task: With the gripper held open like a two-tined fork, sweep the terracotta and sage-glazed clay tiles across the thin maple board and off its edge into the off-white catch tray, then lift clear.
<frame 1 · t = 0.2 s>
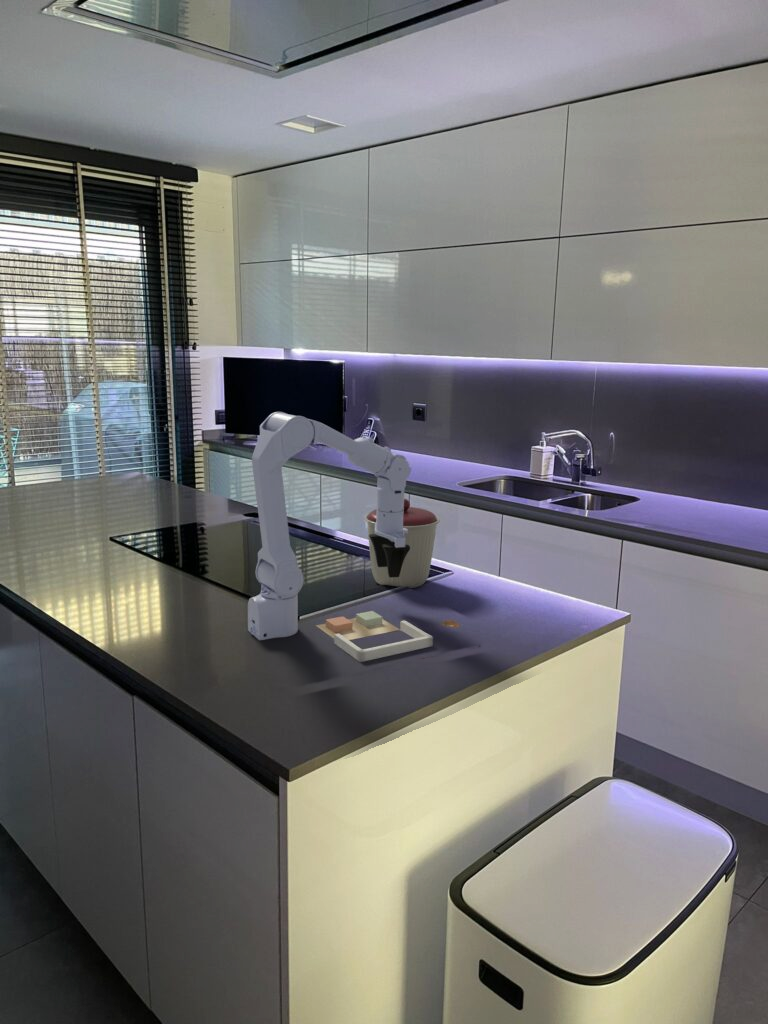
hand: (388, 571, 166), 10 cm above the counter, fingers open, 7 cm apart
shard: (443, 627, 163), on the counter
terracotta tile: (338, 628, 156), point 1 cm above the counter, touching maple board
maple board: (357, 633, 157), on the counter
sage tile: (368, 622, 160), point 1 cm above the counter, touching maple board
catch tray: (381, 649, 149), on the counter
canister: (400, 583, 190), on the counter
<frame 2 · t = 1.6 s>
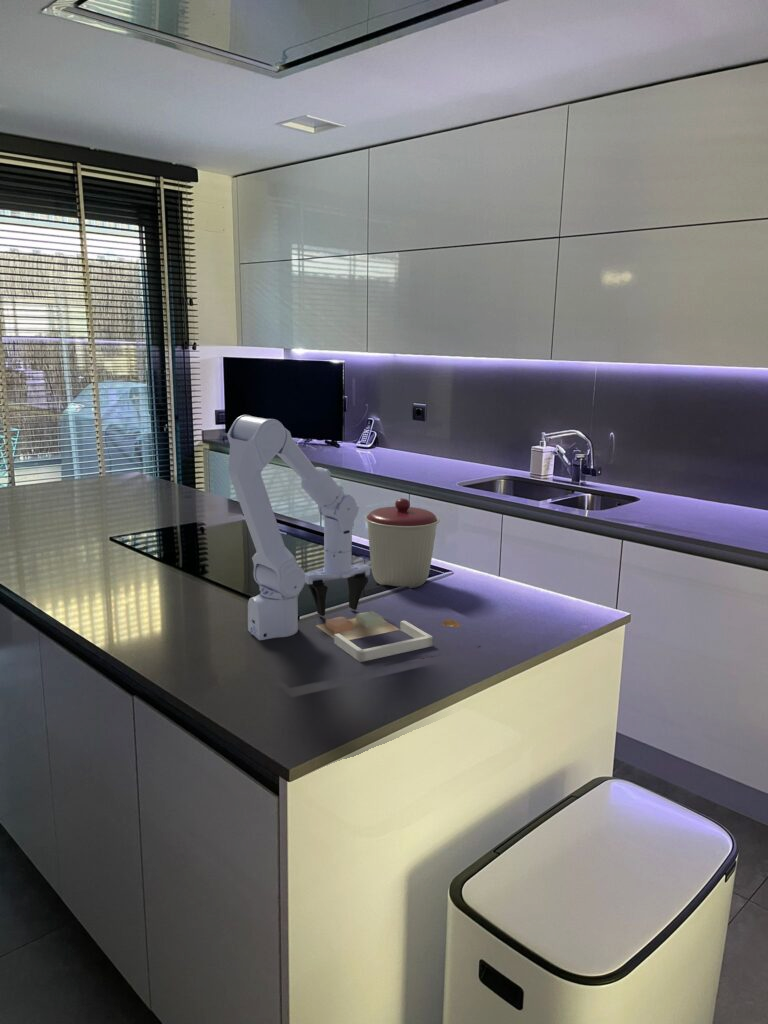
hand: (337, 611, 164), 2 cm above the counter, fingers open, 7 cm apart
nothing on the counter moved.
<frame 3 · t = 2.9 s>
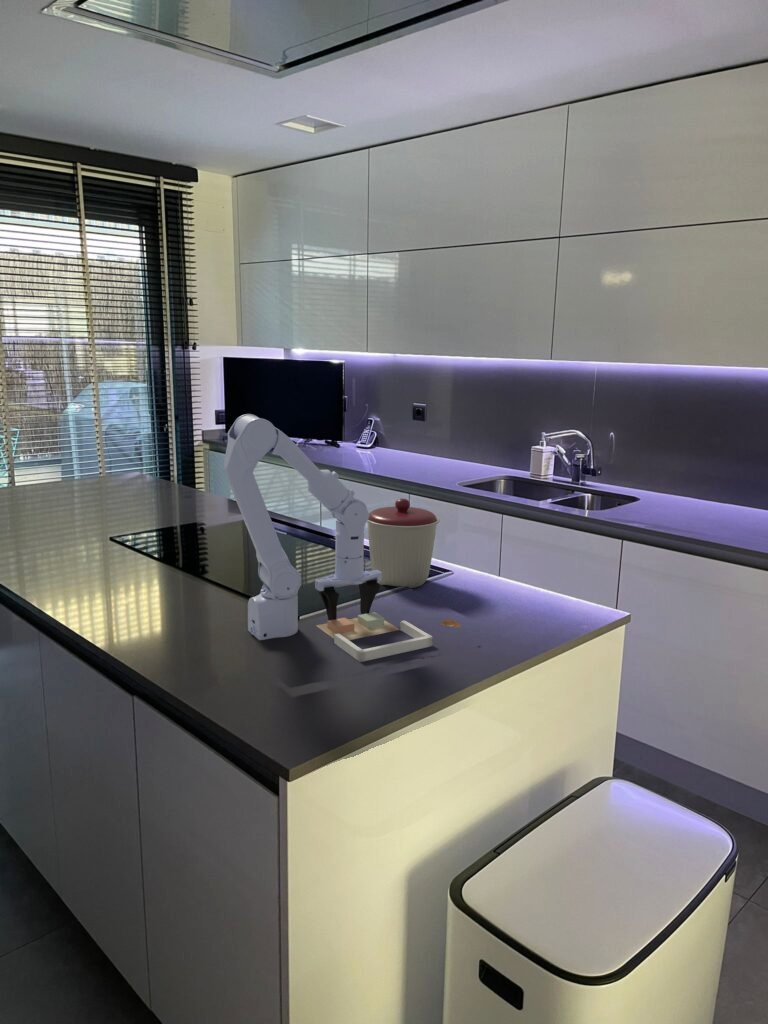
hand: (348, 618, 160), 2 cm above the counter, fingers open, 7 cm apart
terracotta tile: (340, 629, 156), point 1 cm above the counter, touching gripper
sage tile: (370, 623, 159), point 1 cm above the counter, touching gripper, maple board
everything else where it was.
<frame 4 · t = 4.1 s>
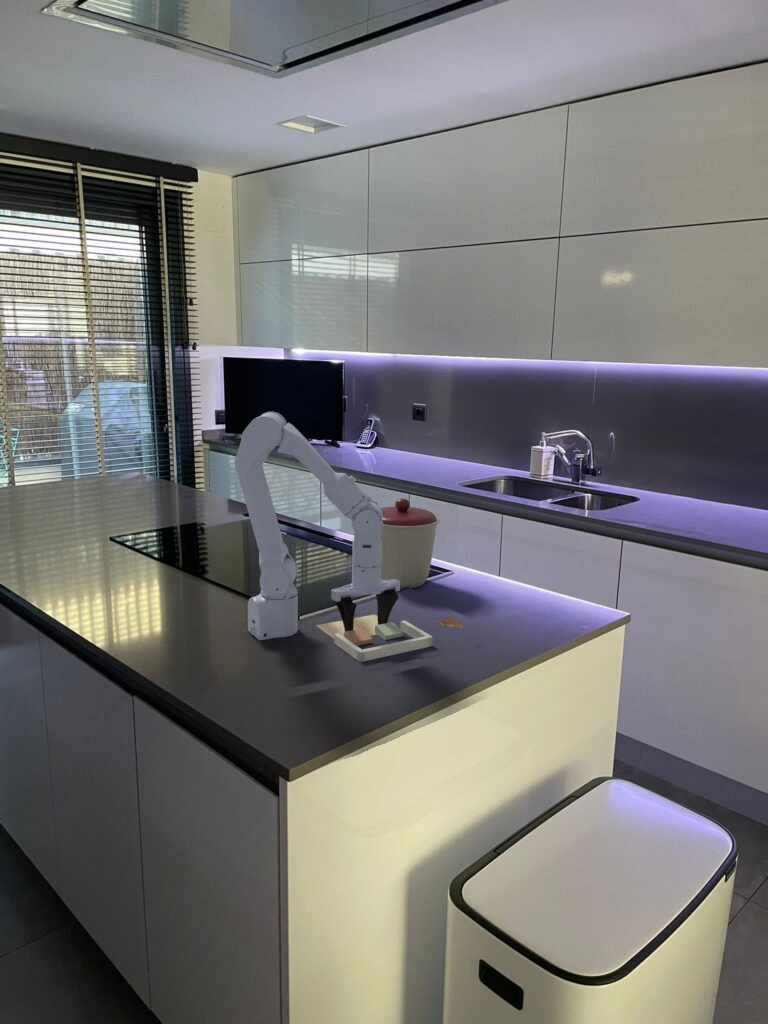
hand: (365, 629, 154), 2 cm above the counter, fingers open, 7 cm apart
terracotta tile: (357, 641, 150), point 1 cm above the counter, tilted 11°, touching catch tray, maple board
sage tile: (388, 635, 154), point 1 cm above the counter, tilted 11°, touching catch tray
everything else where it was.
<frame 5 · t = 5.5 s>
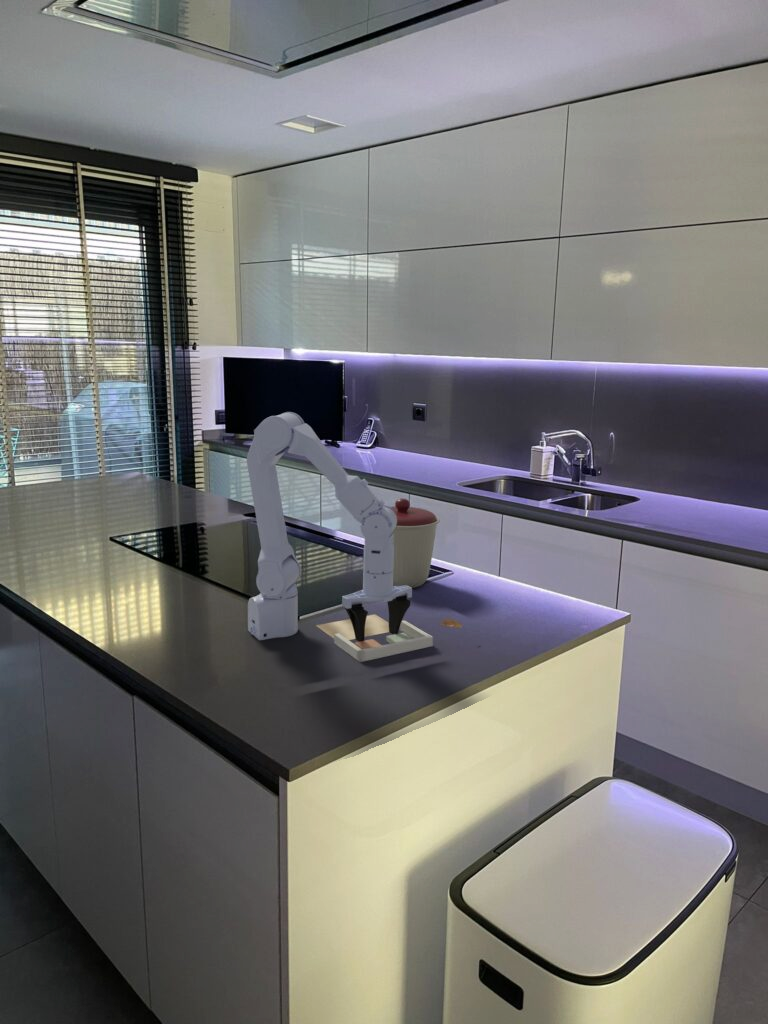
hand: (376, 637, 150), 2 cm above the counter, fingers open, 7 cm apart
terracotta tile: (368, 651, 146), point 1 cm above the counter, touching catch tray, gripper
sage tile: (400, 645, 150), point 1 cm above the counter, touching catch tray, gripper
everything else where it was.
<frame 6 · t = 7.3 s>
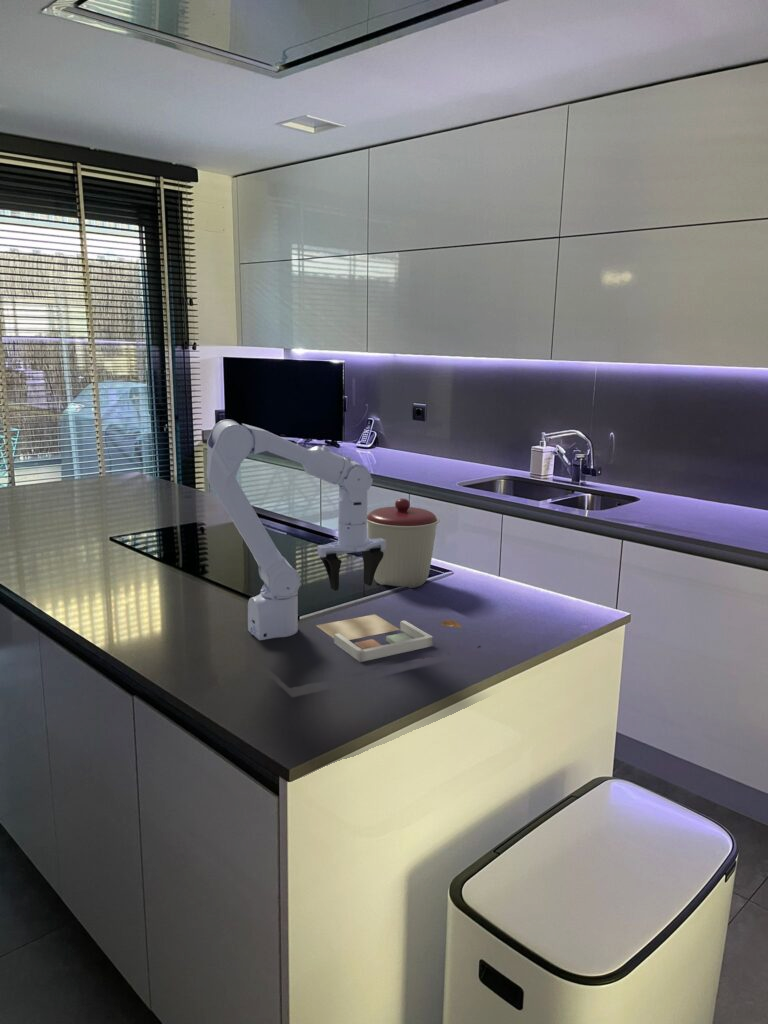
hand: (351, 586, 158), 9 cm above the counter, fingers open, 7 cm apart
terracotta tile: (368, 651, 146), point 1 cm above the counter, touching catch tray
sage tile: (400, 645, 150), point 1 cm above the counter, touching catch tray
everything else where it was.
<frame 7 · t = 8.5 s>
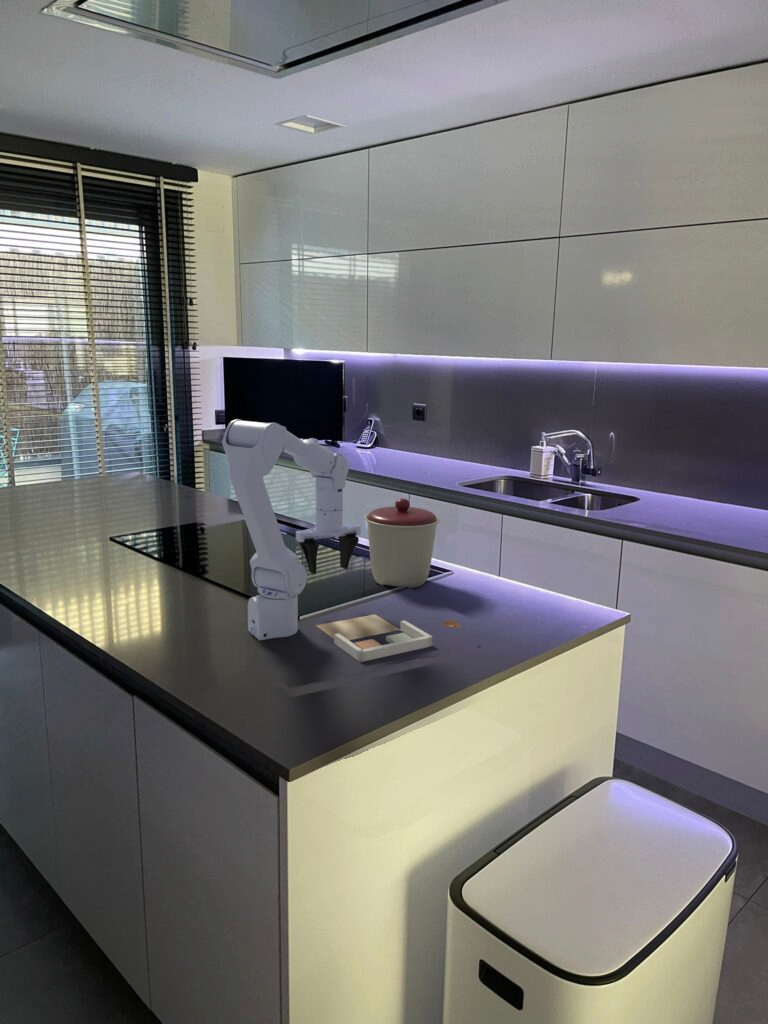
hand: (328, 570, 167), 9 cm above the counter, fingers open, 7 cm apart
nothing on the counter moved.
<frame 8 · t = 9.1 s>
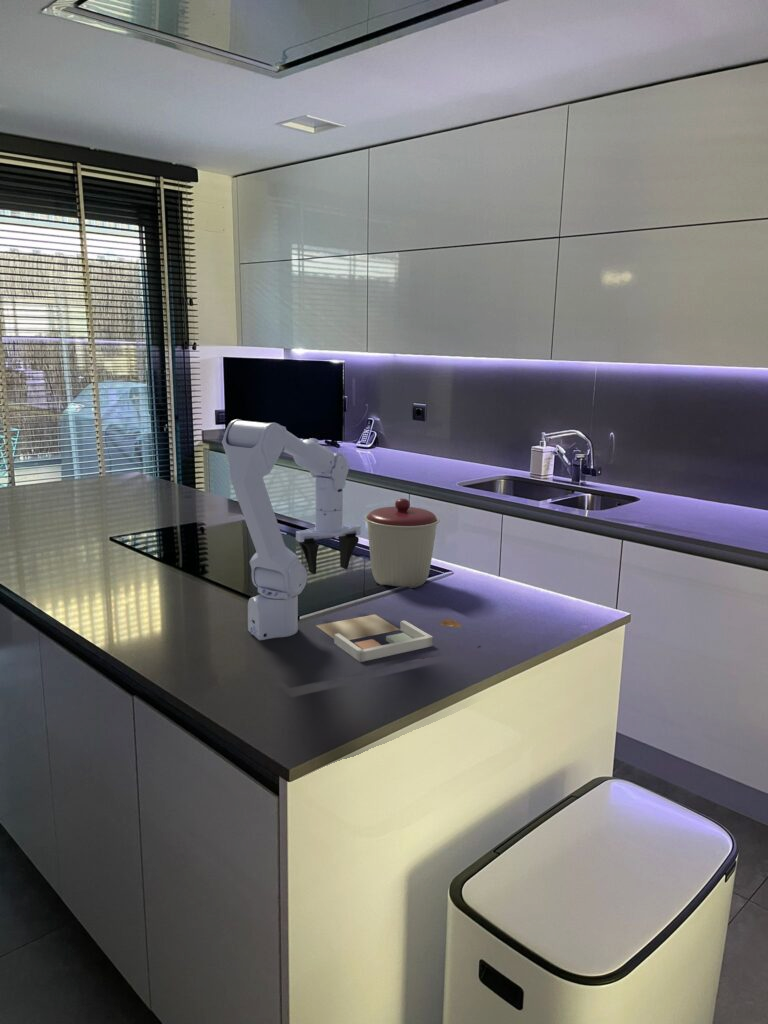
hand: (328, 570, 167), 9 cm above the counter, fingers open, 7 cm apart
nothing on the counter moved.
at the end: terracotta tile inside the target area (3.6 cm from its centre), point 0.6 cm above the counter; sage tile inside the target area (3.5 cm from its centre), point 0.6 cm above the counter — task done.
